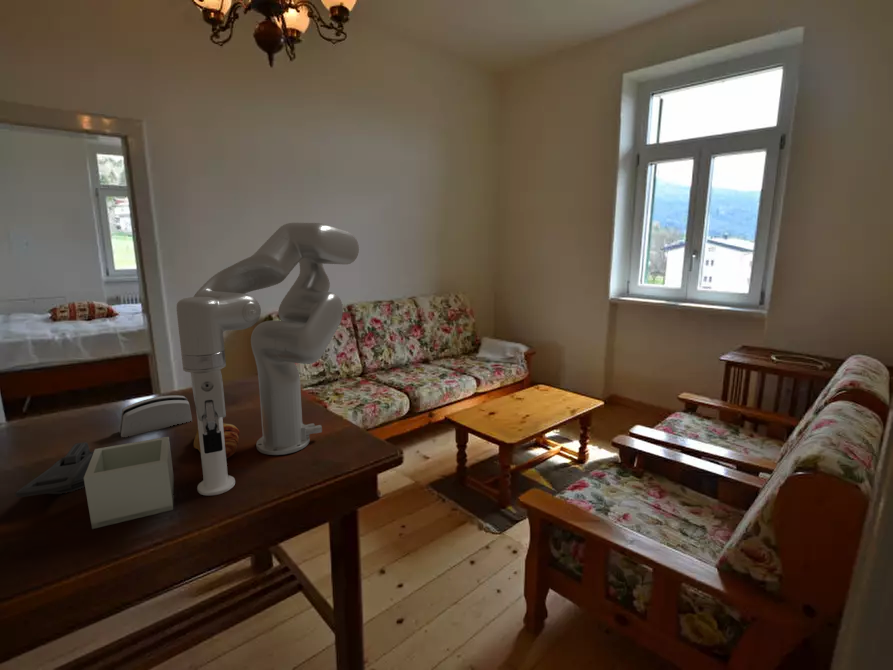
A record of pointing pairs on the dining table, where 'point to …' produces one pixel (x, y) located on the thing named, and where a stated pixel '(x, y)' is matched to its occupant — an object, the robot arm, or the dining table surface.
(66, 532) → the dining table surface
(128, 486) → the open square box
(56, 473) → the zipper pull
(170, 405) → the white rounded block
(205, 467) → the candle
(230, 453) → the croissant
